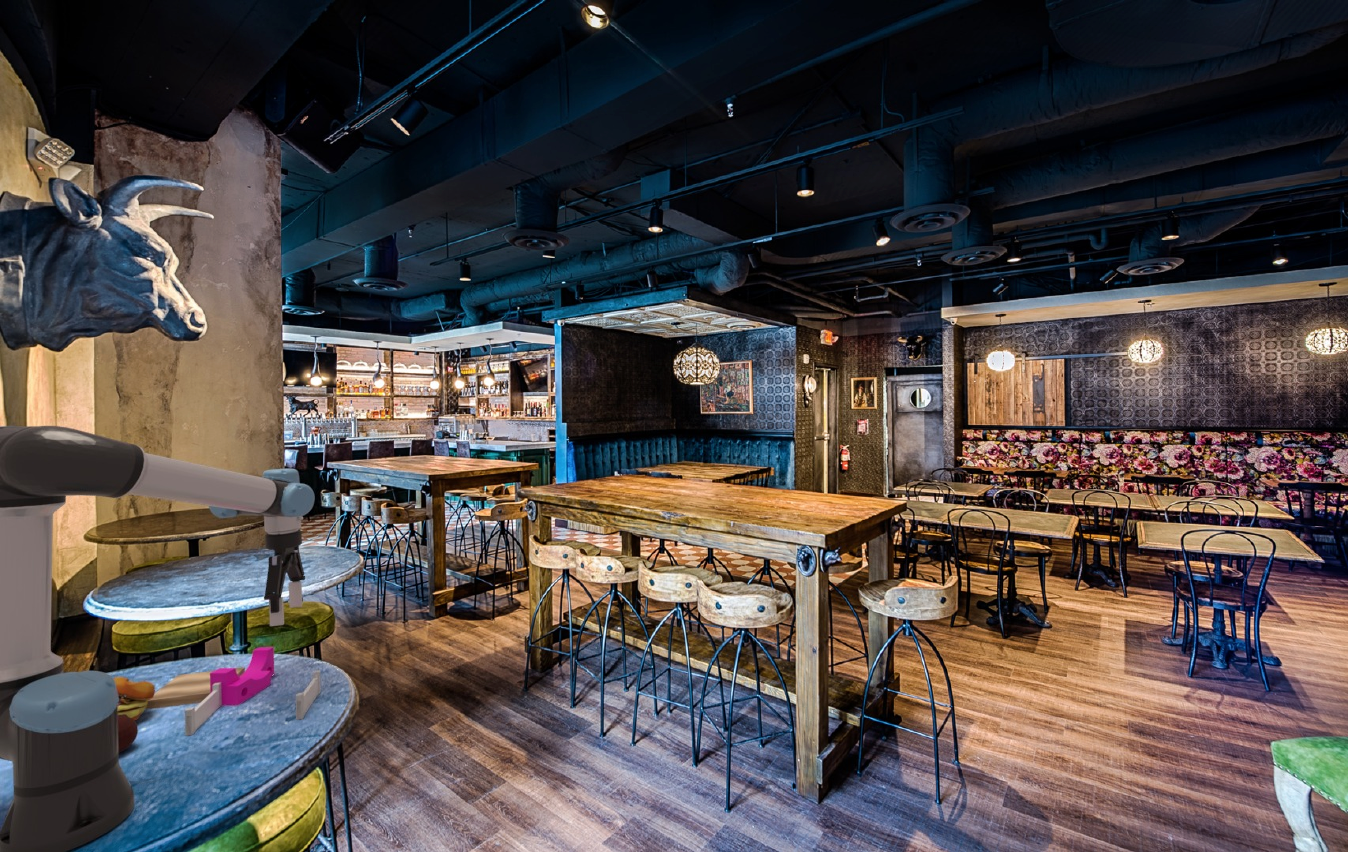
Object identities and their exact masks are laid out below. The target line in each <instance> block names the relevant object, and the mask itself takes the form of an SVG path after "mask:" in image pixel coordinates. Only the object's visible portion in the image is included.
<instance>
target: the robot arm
mask: <svg viewBox="0 0 1348 852" xmlns="http://www.w3.org/2000/svg"><path fill="white" fill-rule="evenodd" d="M299 474H300V473H299V471H298V470H297V469H295V468H272V469H268V470H264V471H263V472H262V476H258V475H257V476H256V475H251V474H247V473H244V472H243V473H242V472H237V471H233V470H232V471H231V470H228V469H223V468H219V467H214V466H209V465H203V464H199V463H195V462H191V461H184V460H182V459H181V460H180V459H177V458H171V457H166V456H161V455H158V454H154V453H153V454H152V453H147V452H145V451H144V449H143V448H142V447H141V446H139V445H138V444H133V443H130V442H129V443H128V442H124V441H122V440H117V439H113V438H110V437H106V436H102V435H98V434H94V433H90V432H86V431H83V430H78V429H75V428H71V427H66V426H58V425H39V426H38V425H36V426H35V425H32V426H30V425H29V426H28V425H24V426H23V425H22V426H20V425H19V426H18V425H4V426H0V760H4V761H9V762H12V780H13V783H12V784H13V797H12V799H11V803H10V806H9V808H8V810H7V813H6V816H5V819H4V821H3V824H2V826H1V828H0V852H68V851H71V850H73V849H76V848H78V847H80V846H81V847H82V846H83V845H86V844H87V843H89V842H91V841H93V840H96V839H97V838H99V837H100V836H103V835H104V834H106V833H108V832H109V831H111V830H113V829H114V828H115V827H117V826H119V825H120V824H121V823H123V822H124V821H125V820H126V818H128V816H129V815H130V814H131V813H132V812H133V810H134V808H135V792H134V788H133V787H132V785H131V784H130V782H129V779H128V778H127V776H126V774H125V773H124V770H123V769H122V766H121V765H120V762H119V761H120V760H119V753H118V702H119V696H118V692H117V688H116V682H115V680H114V679H113V678H114V677H113V676H111V675H110V674H109V673H106V672H103V671H97V670H82V671H79V672H77V671H68V672H64V659H63V658H64V657H61V656H59V655H57V654H55V653H54V652H52V650H51V644H52V642H51V641H52V638H51V636H52V588H53V584H52V583H53V581H52V579H53V533H54V532H53V529H54V528H53V527H54V525H53V524H54V520H53V519H54V514H55V512H57V511H58V510H59V509H61V508H62V507H63V506H65V505H66V501H67V500H66V499H67V496H70V497H71V496H72V497H74V496H87V497H90V496H91V497H93V496H94V497H104V498H111V499H120V498H124V497H126V496H127V495H132V496H140V497H145V498H146V497H147V498H151V499H152V498H154V499H159V500H160V499H161V500H167V501H173V502H179V503H181V502H182V503H187V504H194V505H201V506H208V508H209V510H210V512H211V514H212V515H214V516H215V517H216V518H218V519H224V518H225V519H227V518H235V517H238V516H256V517H257V516H260V517H261V516H262V517H263V519H264V520H263V521H264V522H263V523H264V525H263V526H264V532H266V534H265V536H264V539H265V540H264V541H265V542H264V543H265V549H267V550H269V551H270V550H273V551H274V553H273V554H274V555H273V556H272V555H271V556H269V557H268V560H267V561H268V567H267V575H266V576H267V577H266V583H265V593H264V596H263V600H264V601H268V611H269V614H268V615H269V627H276V626H283V625H284V624H285V612H284V611H285V608H284V596H282V594H283V589H284V586H285V585H284V584H285V580H286V575H287V577H288V579H289V582H288V600H289V601H288V602H289V604H288V605H289V608H290V609H291V608H301V607H303V590H302V589H303V586H302V581H305V580H306V575H305V572H304V571H305V570H304V567H303V561H302V558H301V553H300V545H302V543H303V535H302V532H303V531H302V530H301V529H300V528H301V527H302V521H303V520H304V517H303V516H306V515H307V514H308V513H309V512H310V511H311V510H312V509H313V507H314V504H315V498H316V497H315V493H314V491H313V488H312V487H311V486H310V485H308V484H305V483H300V482H301V481H300V475H299Z"/></svg>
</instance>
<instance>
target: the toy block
mask: <svg viewBox="0 0 1348 852" xmlns="http://www.w3.org/2000/svg"><path fill="white" fill-rule="evenodd" d="M236 668H237V667H225V668H224V667H220V668H217V669H215V670H212V671H213V672H212V673H210V692H211V693H212V692H213V690H212V685H213V684H215V683H220V682H221V694H222V705H221V706H239V705H241V704H242V703H244V702H246V701H247V700H249V699H250V698H251V697H253V696H255V695H256V694H258V693H260V692H261V691H263V690H264V689H266V688H268V687H269V686H271V685H270V684H272V680H271V679H272V677H271V676H272V675H273V674H274V675H275V647H273V646H267V647H266V646H262V647H261V646H259V647H257V648H255V649H253V650H252V655H251V659H250V662H249V664H248V666H247V668H245V672H244V673H243V674H242V675H241V676H240V677H239V676H238V675H237V672H236Z"/></svg>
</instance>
